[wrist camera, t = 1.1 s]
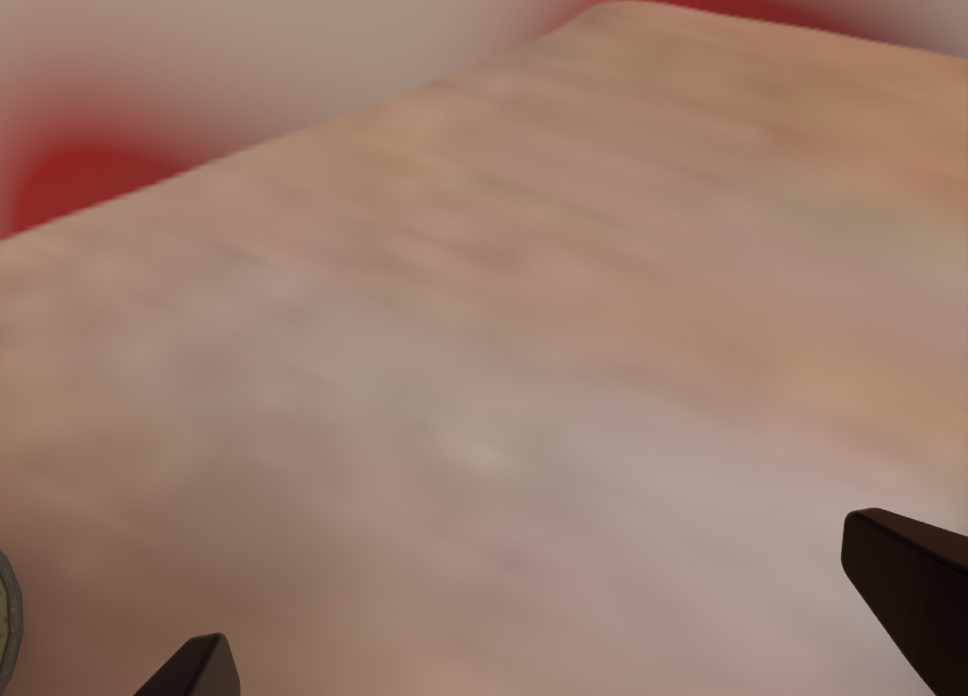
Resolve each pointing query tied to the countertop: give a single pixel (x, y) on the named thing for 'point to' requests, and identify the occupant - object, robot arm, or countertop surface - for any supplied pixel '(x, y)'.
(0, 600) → the olive cylinder
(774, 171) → the countertop surface
